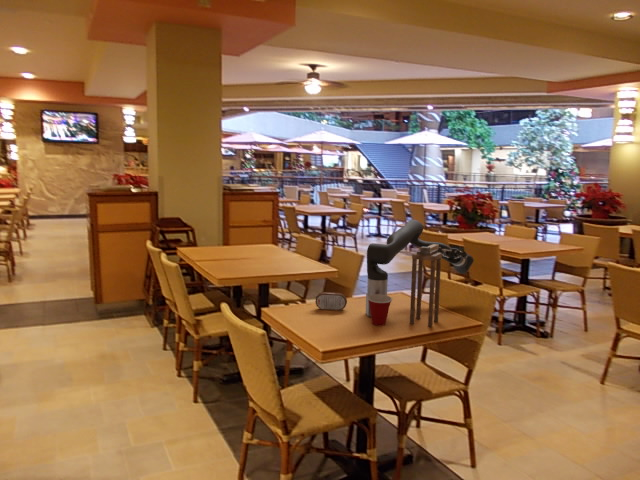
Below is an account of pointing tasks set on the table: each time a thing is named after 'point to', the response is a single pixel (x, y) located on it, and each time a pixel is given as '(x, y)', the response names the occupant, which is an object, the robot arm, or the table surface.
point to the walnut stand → (431, 257)
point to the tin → (331, 301)
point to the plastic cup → (379, 308)
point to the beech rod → (428, 249)
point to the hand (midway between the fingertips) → (447, 250)
